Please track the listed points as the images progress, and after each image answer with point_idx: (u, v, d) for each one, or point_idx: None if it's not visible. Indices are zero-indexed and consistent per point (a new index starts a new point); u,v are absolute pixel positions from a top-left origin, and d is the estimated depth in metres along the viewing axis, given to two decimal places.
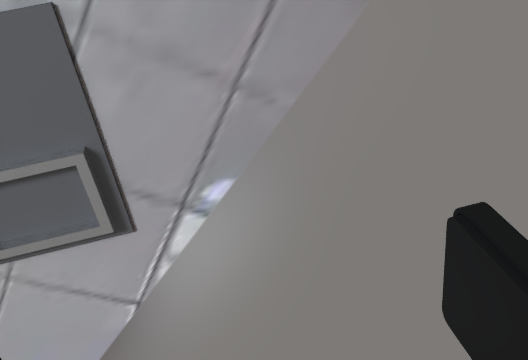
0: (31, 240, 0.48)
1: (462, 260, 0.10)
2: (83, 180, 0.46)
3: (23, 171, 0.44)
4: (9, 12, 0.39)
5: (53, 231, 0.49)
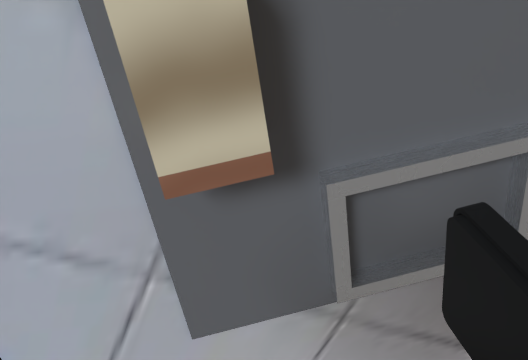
0: (413, 266, 0.32)
1: (462, 260, 0.10)
2: None
3: (459, 160, 0.28)
4: None
5: (438, 252, 0.32)
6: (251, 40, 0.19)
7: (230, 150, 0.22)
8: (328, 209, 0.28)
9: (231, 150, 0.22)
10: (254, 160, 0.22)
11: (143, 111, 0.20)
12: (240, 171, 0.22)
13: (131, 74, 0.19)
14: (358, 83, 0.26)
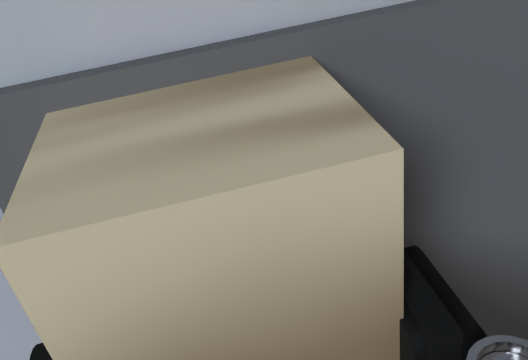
0: None
1: None
2: None
3: None
4: None
5: None
6: (399, 309, 0.08)
7: None
8: None
9: None
10: None
11: None
12: None
13: None
14: (527, 268, 0.14)
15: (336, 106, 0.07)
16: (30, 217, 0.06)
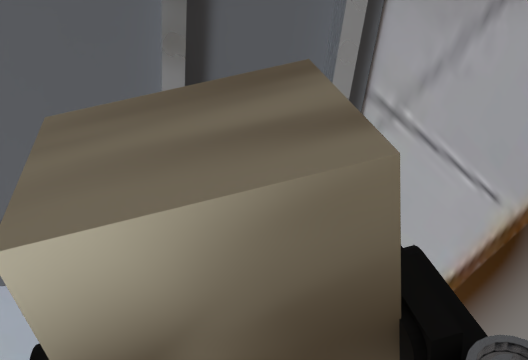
0: (336, 34, 0.23)
1: None
2: None
3: None
4: None
5: None
6: (397, 312, 0.08)
7: None
8: None
9: None
10: None
11: None
12: None
13: None
14: (55, 75, 0.23)
15: (333, 110, 0.07)
16: (28, 222, 0.06)
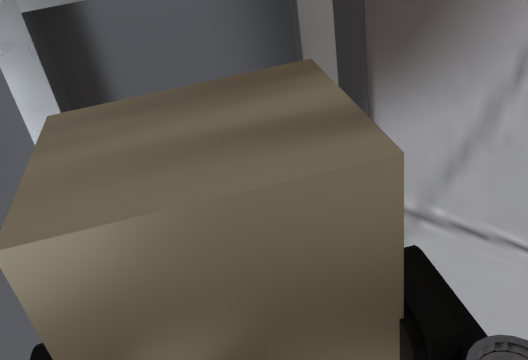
0: None
1: None
2: None
3: None
4: None
5: None
6: (399, 311, 0.08)
7: None
8: None
9: None
10: None
11: None
12: None
13: None
14: None
15: (336, 109, 0.07)
16: (31, 220, 0.06)
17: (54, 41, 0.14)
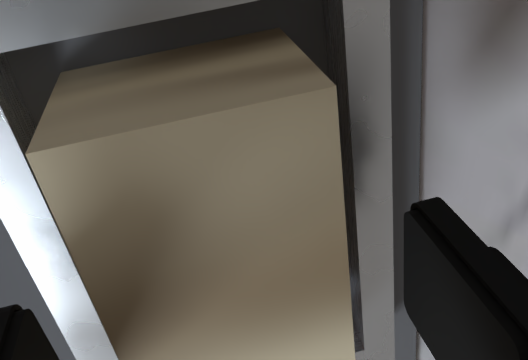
0: (351, 233, 0.14)
1: (417, 253, 0.10)
2: (66, 31, 0.09)
3: (40, 249, 0.11)
4: None
5: None
6: (343, 223, 0.10)
7: None
8: None
9: None
10: None
11: (127, 352, 0.10)
12: None
13: (101, 296, 0.09)
14: None
15: (292, 61, 0.09)
16: (54, 136, 0.08)
17: (28, 86, 0.11)
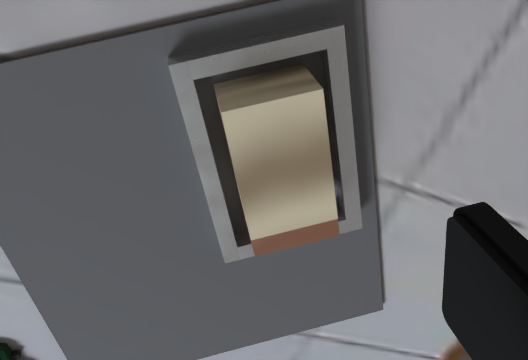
0: (336, 157, 0.29)
1: (462, 260, 0.10)
2: (224, 69, 0.25)
3: (203, 158, 0.27)
4: None
5: (330, 122, 0.29)
6: (328, 140, 0.25)
7: (307, 219, 0.28)
8: (250, 255, 0.32)
9: (308, 219, 0.28)
10: (325, 225, 0.28)
11: (244, 193, 0.26)
12: (314, 234, 0.28)
13: (237, 167, 0.25)
14: (140, 236, 0.31)
15: (308, 79, 0.25)
16: (227, 107, 0.24)
17: (200, 90, 0.27)
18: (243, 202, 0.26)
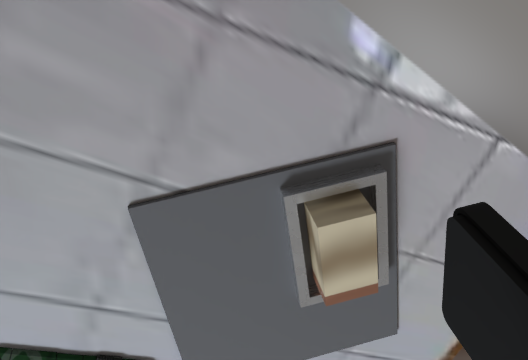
0: None
1: (462, 260, 0.10)
2: (315, 198, 0.42)
3: (296, 246, 0.44)
4: (140, 239, 0.42)
5: None
6: (376, 240, 0.42)
7: (359, 283, 0.45)
8: (317, 302, 0.48)
9: (360, 283, 0.45)
10: (370, 287, 0.45)
11: (324, 270, 0.43)
12: (362, 292, 0.45)
13: (322, 256, 0.42)
14: (246, 290, 0.48)
15: (365, 203, 0.42)
16: (320, 223, 0.41)
17: None
18: (323, 275, 0.43)
